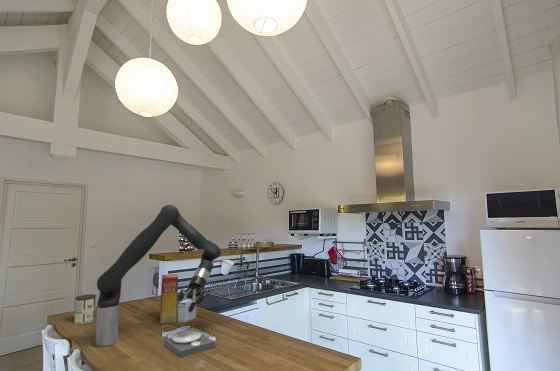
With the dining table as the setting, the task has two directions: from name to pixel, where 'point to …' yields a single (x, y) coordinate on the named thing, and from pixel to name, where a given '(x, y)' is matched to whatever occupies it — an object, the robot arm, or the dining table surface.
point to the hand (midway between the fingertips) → (185, 310)
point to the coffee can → (84, 309)
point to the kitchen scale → (188, 343)
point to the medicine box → (185, 311)
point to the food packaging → (169, 298)
